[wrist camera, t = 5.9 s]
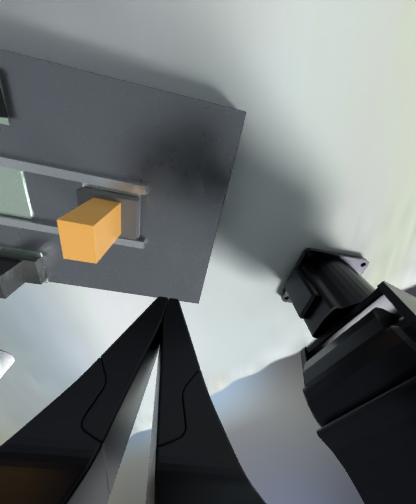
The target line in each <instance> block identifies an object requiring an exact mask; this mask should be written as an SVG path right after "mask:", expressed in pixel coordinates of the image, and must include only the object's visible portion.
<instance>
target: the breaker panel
mask: <svg viewBox="0 0 416 504" xmlns="http://www.w3.org/2000/svg"><path fill="white" fill-rule="evenodd" d="M245 115H246V112H245V111H241V110H237V109H233V108H229V107H225V106H221V105H217V104H213V103H209V102H205V101H201V100H197V99H194V98H190V97H186V96H182V95H178V94H174V93H170V92H166V91H162V90H158V89H154V88H150V87H146V86H142V85H139V84H135V83H131V82H127V81H123V80H119V79H115V78H111V77H107V76H103V75H99V74H95V73H91V72H87V71H84V70H80V69H76V68H72V67H68V66H64V65H60V64H56V63H52V62H48V61H44V60H40V59H36V58H32V57H29V56H25V55H21V54H17V53H13V52H9V51H5V50H1V49H0V298H5V299H6V298H7V297H8V296H9V295H10V294H12V293H13V292H14V291H15V290H16V289H18V288H19V287H20V286H21V285H22V284H24V283H25V282H28V283H34V284H42V283H43V282H45V283H48V281H49V282H56V283H62V284H69V285H76V286H83V287H89V288H96V289H103V290H110V291H117V292H123V293H130V294H137V295H144V296H150V297H157V298H158V297H159V296H162V297H168V299H169V298H175V299H178V300H179V301H184V302H191V303H198V304H199V300H200V296H201V292H202V288H203V284H204V280H205V276H206V272H207V268H208V264H209V260H210V256H211V252H212V248H213V244H214V240H215V236H216V232H217V228H218V224H219V220H220V216H221V212H222V208H223V204H224V199H225V195H226V191H227V187H228V183H229V179H230V175H231V171H232V167H233V163H234V159H235V155H236V151H237V147H238V143H239V139H240V135H241V131H242V127H243V123H244V119H245ZM81 187H85V188H90V189H96V190H101V191H106V192H111V193H116V194H121V195H126V196H131V197H136V198H141V199H140V223H139V236H138V238H137V239H136V240H134V239H128V238H122V237H118V238H117V239H116V241H115V242H114V243H113V244H112V245H111V247H110V248H109V249H108V250H107V251H106V253H105V254H104V255H103V256H102V257H101V259H100V260H99V261H98V262H97V264H95V263H89V262H82V261H76V260H70V259H64V258H63V253H62V247H61V242H60V236H59V230H58V224H57V219H58V218H60V217H62V216H63V215H65V214H67V213H68V212H70V211H72V210H73V209H75V208H77V207H78V202H77V193H76V190H77V189H79V188H81Z"/></svg>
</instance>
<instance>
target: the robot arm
mask: <svg viewBox="0 0 416 504" xmlns="http://www.w3.org/2000/svg"><path fill="white" fill-rule="evenodd" d="M308 253H310V254H309V255H307V254H308ZM368 264H369V262H368V261H367V260H366V259H364V258H360V257H355V256H350V255H344V254H339V253H334V252H328V251H323V250H318V249H312V248H308V249H305V250H304V252H303V253H302V255H301V257H300V259H299V261H298V263H297V265H296V267H295V268H294V269H293V271H292V273H291V275H290V277H289V279H288V281H287V283H286V285H285V289H284V291H283V293H282V294H281V298H282V300H283V301H285V302H290V303H293V305H294V307H295V309H296V311H297V313H298V315H299V317H300V318H302V319H304V321H305V323H306V325H307V327H308V329H309V330H310V332H311V334H312V336H313V337H314V338H317V339H316V340H315V341H314V342H313V343H311V344H310V345H309V346H308V347H305V348H303V349H302V350H301V359H302V368H303V376H304V384H305V387H304V388H303V393H304V396H305V399H306V401H307V404H308V406H309V408H310V410H311V412H312V414H313V416H314V418H315V419H316V421H317V422H318V424H319V425H320V426H321V428H319V429H317V434H318V436H319V437H320V438H321V439H322V441H323V442H324V443H325V444H326V445H327V446H328V447H329V448H330V449H331V450H332V451H333V453H334V454H335V456H336V457H337V459H338V460H339V461H340V463H341V464H342V466H343V467H344V468H345V470H346V472H347V473H348V475H349V477H350V478H351V480H352V482H353V483H354V485H355V487H356V489H357V491H358V492H359V494H360V496H361V498H362V500H363V502H364V503H365V504H416V297H414V296H412V295H410V294H408V293H406V292H404V291H402V290H400V289H398V288H396V287H394V286H392V285H391V284H389V283H387V282H385V281H383V282H382V283H380V284H379V285H378V286H377V287H378V288H377V289H376V290H375V289H374V288H373V287H372V286H371V285H370V284H369V283H368V282H367V281H366V280H365V279H364V278H363V277H362V276H361V274H362V273H363V272H364V270H365V269H366V268H367V266H368ZM159 346H160V347H159ZM158 351H159V355H158V366H157V377H156V389H155V400H154V411H153V423H152V434H151V446H150V457H149V468H148V481H147V491H146V503H145V504H266V503H265V501H264V500H263V499H262V497H261V496H260V495H259V493H258V492H257V491H256V489H255V488H254V487H253V486H252V484H251V482H250V481H249V479H248V478H247V476H246V475H245V473H244V471H243V469H242V467H241V465H240V463H239V461H238V459H237V457H236V455H235V453H234V450H233V448H232V446H231V444H230V442H229V440H228V437H227V435H226V433H225V431H224V428H223V426H222V424H221V421H220V419H219V417H218V415H217V412H216V410H215V408H214V405H213V403H212V401H211V398H210V396H209V393H208V390H207V387H206V384H205V381H204V378H203V375H202V372H201V370H200V366H199V363H198V360H197V356H196V353H195V350H194V347H193V344H192V341H191V337H190V334H189V331H188V328H187V325H186V321H185V318H184V315H183V312H182V309H181V306H180V302H179V300H178V299H175V298H169V299H168V297H162V296H159V297H158V298H157V299H156V300H155V301H154V302H153V303H152V304H151V305H150V306H149V307H148V308H147V309H146V310H145V311H144V312H143V313H142V314H141V315H140V316H139V317H138V318H137V319H136V320H135V321H134V323H133V324H132V325H131V326H130V327H129V328H128V329H127V330H126V331H125V332H124V333H123V334H122V335H121V336H120V337H119V338H118V339H117V340H116V341H115V342H114V343H113V344H112V345H111V346H110V347H109V348H108V349H107V350H106V351H105V352H104V353H103V355H102V356H101V358H99V359H98V360H97V361H96V362H95V363H94V364H93V365H92V366H91V367H90V368H89V369H88V370H87V371H86V372H85V373H84V374H83V375H82V376H81V377H80V378H79V379H78V380H77V381H75V382H74V383H73V384H72V385H71V386H70V387H69V388H68V389H66V390H65V391H64V392H63V393H62V394H61V395H60V396H59V397H57V398H56V399H55V400H54V401H53V402H52V403H50V404H49V405H48V406H47V407H46V408H45V409H44V410H42V411H41V412H40V413H39V414H38V415H37V416H35V417H34V418H33V419H32V420H31V421H30V422H28V423H27V424H26V425H25V426H24V427H23V428H21V429H20V430H19V431H18V432H17V433H16V434H14V435H13V436H12V437H11V438H10V439H9V440H7V441H6V442H5V443H4V444H2V445H1V446H0V504H107V502H108V500H109V495H110V493H111V491H112V487H113V485H114V482H115V479H116V476H117V473H118V469H119V467H120V464H121V461H122V458H123V455H124V452H125V449H126V446H127V443H128V440H129V437H130V434H131V431H132V428H133V425H134V422H135V419H136V416H137V413H138V410H139V408H140V405H141V402H142V399H143V396H144V393H145V390H146V387H147V384H148V381H149V378H150V375H151V372H152V369H153V366H154V363H155V360H156V357H157V354H158Z"/></svg>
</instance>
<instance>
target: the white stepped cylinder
mask: <svg viewBox="0 0 416 504" xmlns="http://www.w3.org/2000/svg"><path fill="white" fill-rule="evenodd" d="M14 361H15V359H14V358H13V356H11V355H10V354H8V353H6V352H3V351H0V378H1V377H2V376H3V374H4V373H5V372H6V371H7V370H8V368H9V367H10V366H11V365H12V364H13V363H14Z"/></svg>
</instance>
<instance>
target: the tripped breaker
mask: <svg viewBox="0 0 416 504" xmlns="http://www.w3.org/2000/svg"><path fill="white" fill-rule="evenodd" d="M76 193H77V202H78V207H77V208H75V209H73V210H72V211H70V212H68V213H67V214H65V215H63V216H62V217H60V218H58V219H57V224H58V230H59V236H60V242H61V247H62V253H63V258H64V259H70V260H76V261H82V262H89V263H95V264H97V262H98V261H99V260H100V259H101V257H102V256H103V255H104V254H105V253H106V251H107V250H108V249H109V248H110V247H111V245H112V244H113V243H114V242H115V241H116V239H117V238H118V237H122V238H128V239H134V240H136V239H137V238H138V236H139V223H140V199H141V198H136V197H131V196H126V195H121V194H116V193H111V192H106V191H101V190H96V189H90V188H85V187H81V188H79V189H77V190H76Z"/></svg>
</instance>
